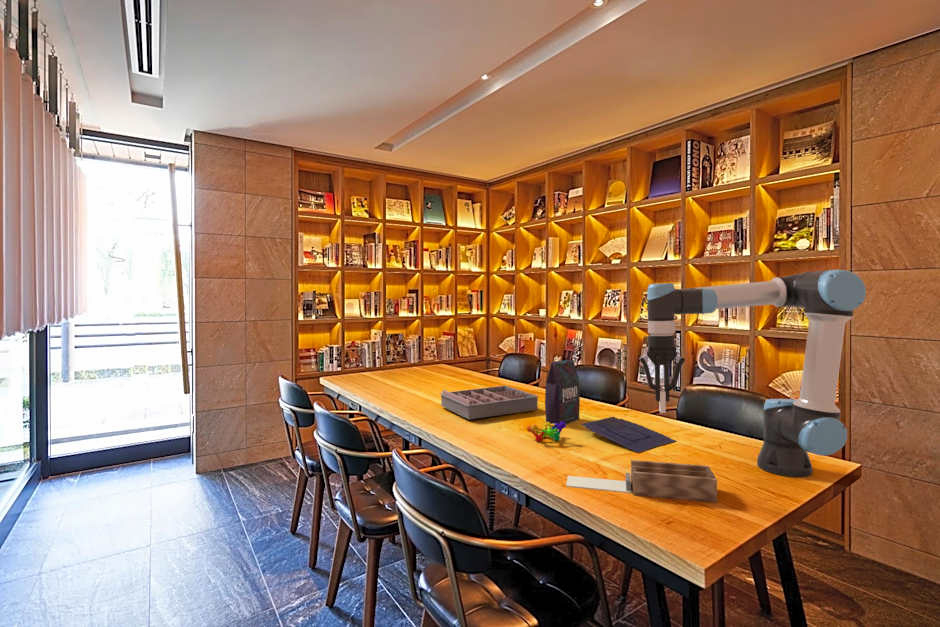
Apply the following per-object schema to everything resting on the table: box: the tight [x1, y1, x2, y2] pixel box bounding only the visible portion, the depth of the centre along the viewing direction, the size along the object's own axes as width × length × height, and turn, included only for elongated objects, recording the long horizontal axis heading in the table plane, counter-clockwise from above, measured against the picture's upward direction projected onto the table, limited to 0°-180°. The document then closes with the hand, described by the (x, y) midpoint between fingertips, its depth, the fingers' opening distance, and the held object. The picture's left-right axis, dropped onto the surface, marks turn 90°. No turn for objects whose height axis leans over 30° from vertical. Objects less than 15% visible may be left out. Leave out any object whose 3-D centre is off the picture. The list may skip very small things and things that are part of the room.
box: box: [630, 459, 718, 504], centre depth 140 cm, size 22×11×6 cm, turn 75°
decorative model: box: [526, 421, 567, 443], centre depth 190 cm, size 13×9×15 cm
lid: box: [565, 472, 633, 494], centre depth 146 cm, size 19×8×4 cm, turn 74°
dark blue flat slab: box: [580, 416, 677, 454], centre depth 193 cm, size 24×30×4 cm
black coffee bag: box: [544, 358, 581, 425], centre depth 217 cm, size 8×16×28 cm, turn 133°
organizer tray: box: [439, 385, 540, 420], centre depth 241 cm, size 32×40×10 cm
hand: (662, 411), depth 145 cm, fingers closed
